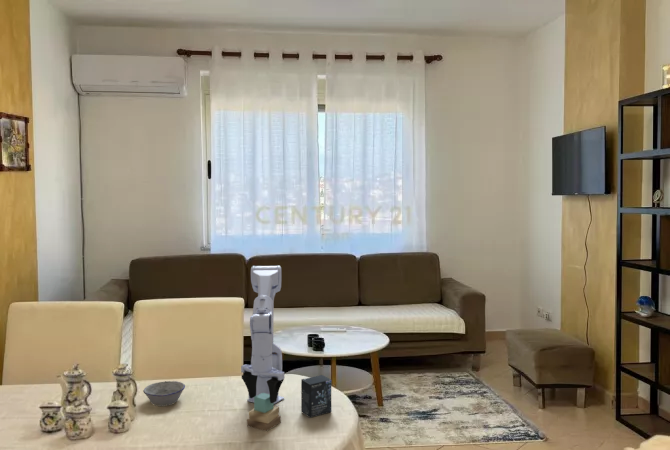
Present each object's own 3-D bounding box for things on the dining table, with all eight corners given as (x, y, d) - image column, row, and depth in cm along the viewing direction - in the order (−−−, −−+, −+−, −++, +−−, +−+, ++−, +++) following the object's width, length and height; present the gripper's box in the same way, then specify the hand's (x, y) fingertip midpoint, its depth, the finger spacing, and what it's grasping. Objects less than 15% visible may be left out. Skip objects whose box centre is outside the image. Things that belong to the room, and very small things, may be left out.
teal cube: (254, 410, 169) (254, 396, 169) (262, 405, 172) (262, 392, 172) (265, 413, 167) (265, 399, 167) (273, 408, 170) (273, 395, 170)
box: (310, 418, 174) (309, 384, 173) (301, 412, 178) (300, 379, 178) (332, 412, 178) (331, 379, 177) (322, 406, 183) (322, 374, 182)
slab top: (249, 420, 168) (248, 411, 168) (260, 411, 174) (260, 403, 174) (268, 423, 166) (268, 415, 165) (278, 415, 171) (278, 406, 171)
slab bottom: (247, 427, 169) (247, 419, 169) (262, 419, 175) (261, 411, 175) (266, 432, 165) (266, 424, 165) (280, 423, 171) (280, 415, 171)
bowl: (177, 409, 181) (176, 394, 181) (137, 408, 182) (137, 394, 182) (190, 394, 194) (190, 380, 194) (153, 393, 195) (153, 379, 195)
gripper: (234, 354, 169) (235, 399, 170) (273, 361, 161) (274, 409, 162) (249, 348, 175) (250, 391, 176) (288, 355, 167) (289, 400, 168)
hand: (262, 399), depth 169 cm, fingers open, 7 cm apart
